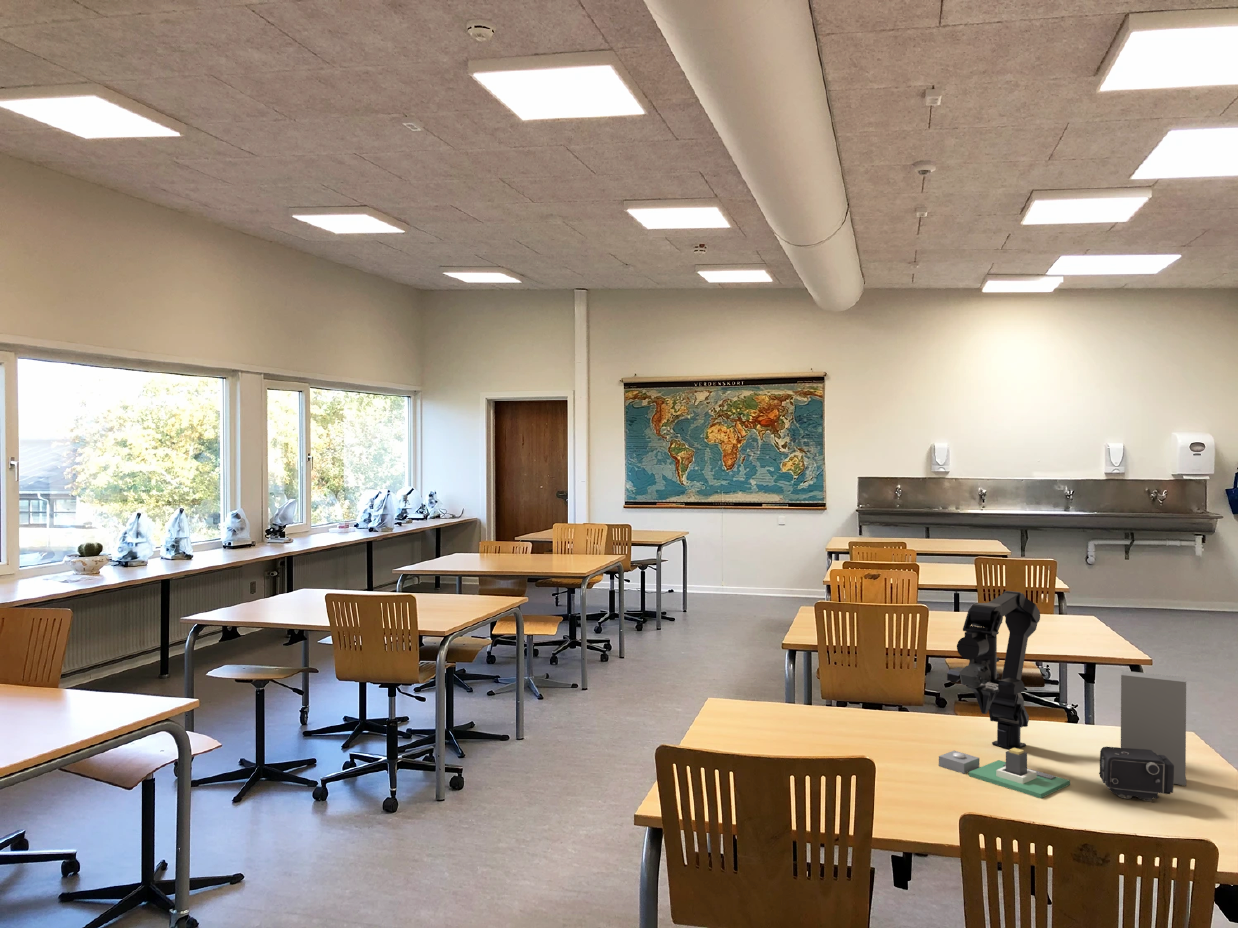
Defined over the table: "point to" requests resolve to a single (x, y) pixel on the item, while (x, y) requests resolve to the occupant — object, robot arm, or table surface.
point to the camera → (1136, 772)
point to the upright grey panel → (1155, 717)
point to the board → (1020, 779)
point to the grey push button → (959, 762)
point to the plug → (1016, 761)
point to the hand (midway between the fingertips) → (984, 713)
